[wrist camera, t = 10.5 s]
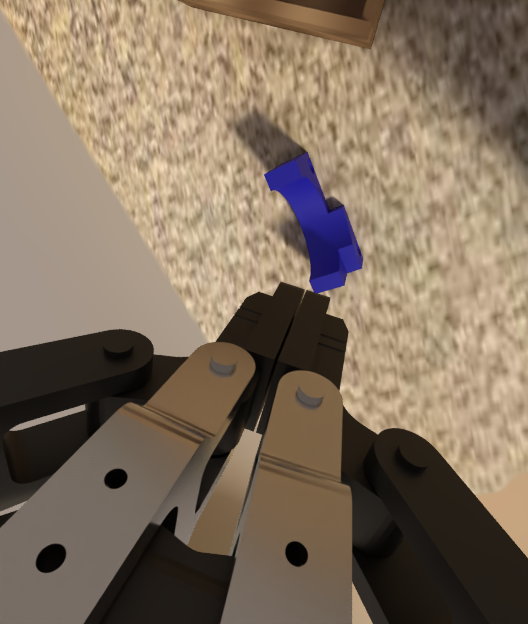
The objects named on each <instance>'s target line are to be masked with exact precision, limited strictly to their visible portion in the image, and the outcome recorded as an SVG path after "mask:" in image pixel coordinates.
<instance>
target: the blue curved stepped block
mask: <svg viewBox="0 0 528 624" xmlns="http://www.w3.org/2000/svg"><path fill="white" fill-rule="evenodd" d="M264 176H265V178H266V181H267V183H268V185H269V188H270V190H271V191H273V190H276V191H278V192H280V193H281V194H282V195H283V196H284V197H285V198H286V199H287V201H288V202H289V204H290V205H291V207H292V209H293V210H294V212H295V214H296V216H297V218H298V221H299V223H300V225H301V228H302V230H303V233H304V236H305V239H306V243H307V247H308V251H309V256H310V264H311V275H310V280H309V282H310V284H311V286H312V289H313V291H314V292H315V293H320V292H324V291H327V290H331V289H334V288H337V287H341V286H344V285H345V281H346V276H347V273H349V272H352V271H355V270H359V269H362V263H363V257H362V254H361V251H360V248H359V246H358V243H357V240H356V237H355V235H354V232H353V229H352V226H351V224H350V221H349V218H348V215H347V213H346V210H345V207H344V205H342V206H339V207H337V208H334V209H332V210H329V208H328V205H327V202H326V200H325V197H324V194H323V192H322V189H321V186H320V184H319V181H318V179H317V176H316V173H315V171H314V168H313V165H312V163H311V160H310V157H309V155H308V152H306V153H304V154H302V155H300V156H298V157H296V158H293V159H291V160H289V161H287V162H285V163H283V164H281V165H279V166H277V167H276V168H274V169H272V170H271V171H269V172H267V173H266V174H264Z"/></svg>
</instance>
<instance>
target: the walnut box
mask: <svg viewBox="0 0 528 624" xmlns="http://www.w3.org/2000/svg"><path fill="white" fill-rule="evenodd" d="M178 1H180V2H183V3H185V4H187V5H189V6H191V7H193V8H198V9H202V10H206V11H210V12H215V13H219V14H223V15H228V16H232V17H236V18H240V19H245V20H249V21H253V22H257V23H262V24H266V25H270V26H274V27H279V28H283V29H287V30H291V31H296V32H300V33H304V34H308V35H313V36H317V37H321V38H326V39H330V40H334V41H338V42H343V43H347V44H351V45H355V46H360V47H364V48H368V49H371V46H372V42H373V39H374V36H375V32H376V29H377V26H378V22H379V19H380V16H381V12H382V9H383V6H384V2H385V0H178Z"/></svg>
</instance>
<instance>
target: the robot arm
mask: <svg viewBox="0 0 528 624" xmlns="http://www.w3.org/2000/svg"><path fill="white" fill-rule="evenodd" d="M304 290H305V289H302V288H299V287H296V286H293V285H290V284H287V283H283V282H281V283H280V284H279V286H278V288H277V289H276V291H275V293H274V295H273V296H270V295H267V294H264V293H261V292H257V293H255V294H253V295H251V296H249V297H247V298H246V299H245V300H244V302H243V303H242V305H241V306H240V309H238V310H237V312H236V313H235V315H234V316H233V318H232V319H231V320H230V322H229V323H228V325H227V326H226V328H225V329H224V330H223V332H222V333H221V335H220V336H219V338H218V339H217V340H216V342H212V343H207V344H204V345H202V346H200V347H199V348H197V349H196V350H195V351H194V352H193V353H192V354H191V355H190V357H171V356H163V355H154V354H153V353H154V351H153V350H154V348H153V345H152V343H151V341H150V340H149V339H148V338H147V337H146V336H144V335H142V334H140V333H137V332H135V331H131V330H122V329H119V330H108V331H103V332H98V333H93V334H88V335H83V336H78V337H73V338H68V339H63V340H58V341H53V342H48V343H43V344H39V345H33V346H28V347H24V348H18V349H13V350H8V351H3V352H0V511H2V510H5V509H7V508H10V507H12V506H15V505H17V504H20V503H22V502H25V501H27V500H28V501H27V502H26V503H25V504H24V505H23V506H22V507H21V508H20V509H19V510H17V511H14V512H11V513H8V514H4V515H2V516H0V624H352V582H353V584H354V586H355V588H356V590H357V592H358V594H359V596H360V598H361V600H362V602H363V604H364V606H365V608H366V610H367V613H368V614H369V617H370V619H371V621H372V623H373V624H528V558H527V557H526V555H525V554H524V553H523V552H522V551H521V549H520V548H519V547H518V546H517V545H516V544H515V542H514V541H513V540H512V539H511V538H510V536H509V535H508V534H507V533H506V532H505V530H504V529H502V527H501V526H500V525H499V523H498V522H497V521H496V520H495V519H494V518H493V516H492V515H491V514H490V513H489V512H488V511H487V509H486V508H485V507H484V506H483V504H482V503H481V502H480V501H479V500H478V498H477V497H476V496H475V495H474V494H473V492H472V491H471V490H470V489H469V488H468V487H467V485H466V484H465V483H464V482H463V481H462V479H461V478H460V477H459V476H458V475H457V473H456V472H455V471H454V470H453V469H452V467H451V466H450V465H449V464H448V463H447V462H446V460H445V459H444V458H443V457H442V456H441V454H440V453H439V452H438V451H437V450H436V449H435V448H434V447H433V446H432V445H431V444H430V443H429V442H428V441H426V440H425V439H424V438H422V437H420V436H419V435H417V434H415V433H413V432H410V431H407V430H404V429H399V428H390V429H386V430H383V431H382V432H380V433H379V434H378V435H377V434H376V433H374V432H373V431H371V430H370V429H368V428H367V427H365V426H364V425H362V424H361V423H359V422H358V421H357V420H355V419H354V418H353V417H352V416H351V415H350V414H349V413H348V412H347V410H346V409H345V407H344V406H343V399H342V396H341V394H340V392H339V390H340V383H341V377H342V370H343V364H344V358H345V351H346V344H347V338H348V332H349V331H348V329H347V327H346V325H345V323H344V321H343V319H340V318H337V317H334V316H331V315H328V314H326V312H327V309H328V305H329V302H330V297H327V296H324V295H321V294H318V293H315V292H312V291H308V290H306V293H305V295H304V298H303V294H304ZM302 298H303V300H302ZM301 301H302V302H301ZM300 304H301V305H300ZM84 404H85V408H86V409H85V410H84V411H81V412H78V413H74V414H71V415H68V416H65V417H62V418H58V419H55V420H52V421H49V422H46V423H42V424H39V425H36V426H32V427H29V428H26V429H23V430H18V431H9V430H10V429H11V428H13V427H15V426H16V425H18V424H21V423H24V422H27V421H30V420H34V419H37V418H40V417H43V416H47V415H50V414H54V413H57V412H60V411H64V410H67V409H70V408H74V407H77V406H80V405H84ZM263 406H264V408H263ZM262 409H263V411H262ZM261 411H262V414H261ZM260 414H261V418H260V421H259V424H258V428H257V431H256V433H259V434H262V438H261V441H260V444H259V447H258V451H257V454H256V457H255V460H254V463H253V467H252V471H251V474H250V478H249V482H248V486H247V489H246V493H245V497H244V501H243V504H242V508H241V512H240V516H239V519H238V523H237V527H236V531H235V534H234V538H233V542H232V545H231V549H230V552H229V556H227V555H218V554H210V553H202V552H197V551H195V550H192V549H191V548H189V547H188V546H187V545H188V542H189V539H190V537H191V534H192V532H193V529H194V527H195V525H196V523H197V521H198V519H199V517H200V515H201V513H202V511H203V509H204V508H205V506H206V504H207V502H208V500H209V498H210V496H211V494H212V493H213V491H214V489H215V487H216V485H217V483H218V481H219V480H220V477H221V476H222V474H223V472H224V470H225V468H226V466H227V465H228V463H229V461H230V459H231V457H232V455H233V453H234V449H235V446H236V445H237V444H238V442H239V440H240V438H241V436H242V433H243V431H244V429H248V430H251V431H254V429H255V426H256V424H257V421H258V419H259V416H260Z"/></svg>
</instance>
